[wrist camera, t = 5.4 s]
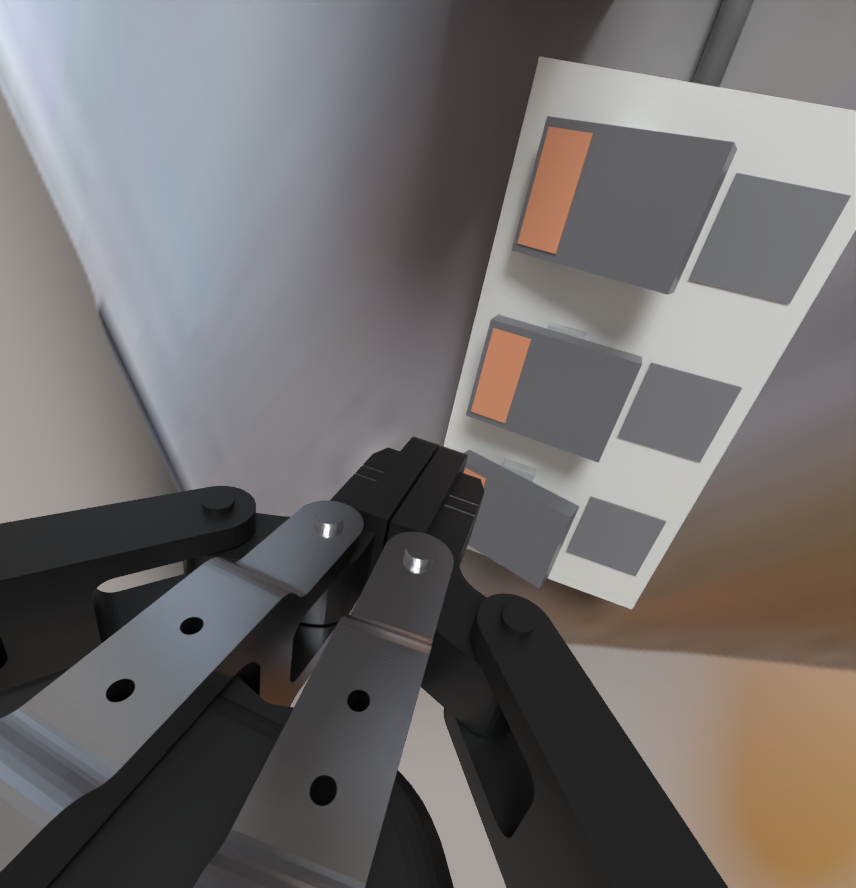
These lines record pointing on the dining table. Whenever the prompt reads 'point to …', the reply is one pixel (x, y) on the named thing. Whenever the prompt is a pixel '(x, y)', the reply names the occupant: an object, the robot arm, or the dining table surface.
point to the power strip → (669, 301)
